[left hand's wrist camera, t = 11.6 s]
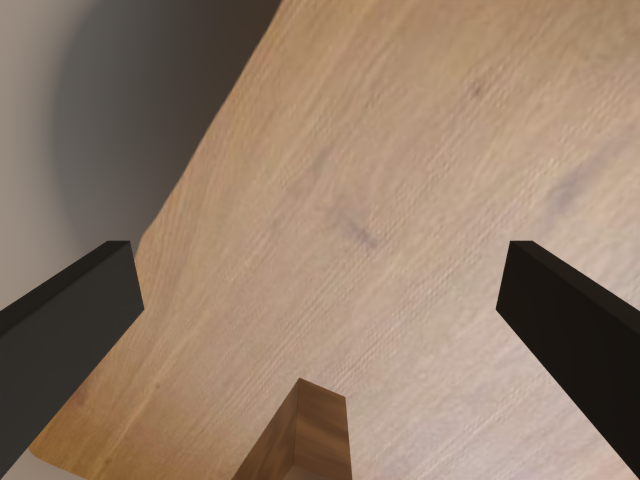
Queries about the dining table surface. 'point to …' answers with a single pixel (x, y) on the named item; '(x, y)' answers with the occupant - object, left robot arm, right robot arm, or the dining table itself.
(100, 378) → the dining table surface
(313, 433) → the bar
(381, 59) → the dining table surface
